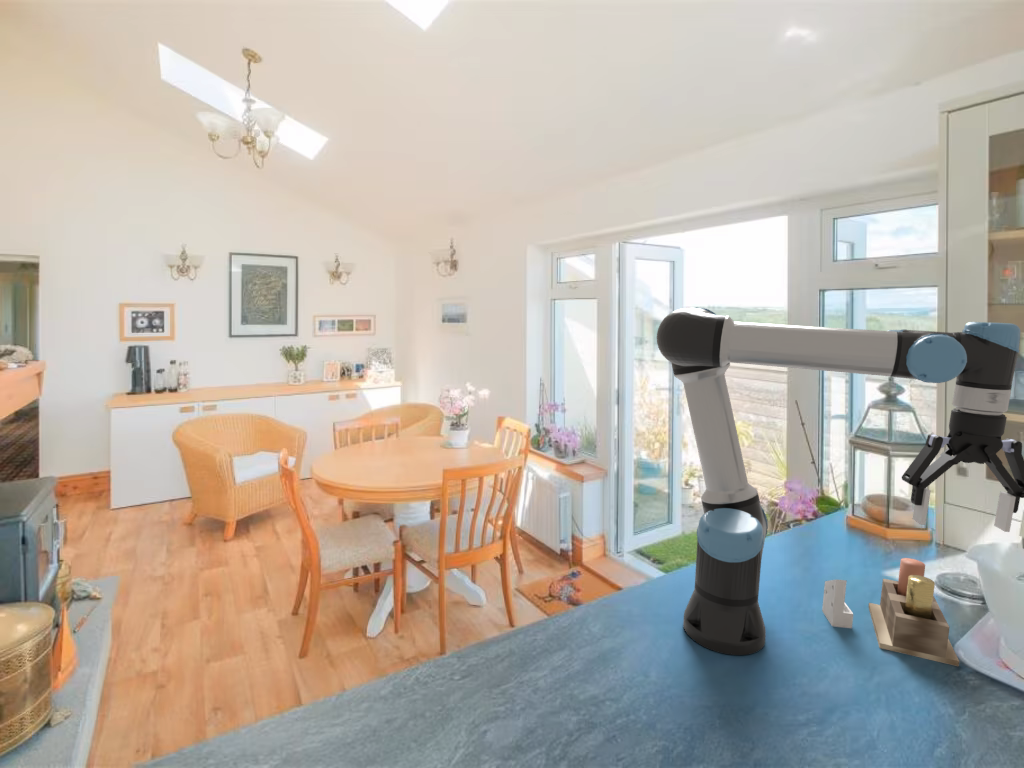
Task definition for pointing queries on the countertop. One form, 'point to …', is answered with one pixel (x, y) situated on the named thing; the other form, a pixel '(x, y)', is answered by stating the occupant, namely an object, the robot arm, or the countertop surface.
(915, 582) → the brass plug
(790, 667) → the countertop surface
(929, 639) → the socket block
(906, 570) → the red plug
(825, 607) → the white wedge bracket
